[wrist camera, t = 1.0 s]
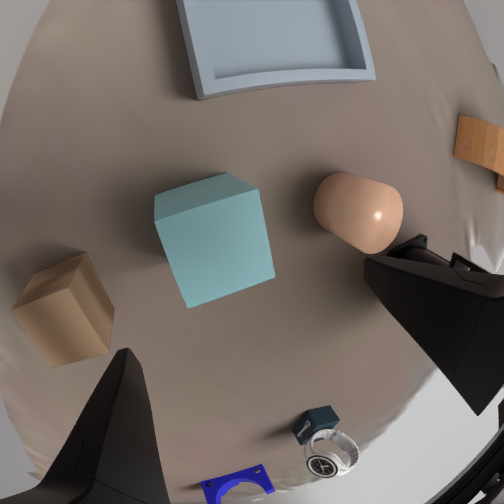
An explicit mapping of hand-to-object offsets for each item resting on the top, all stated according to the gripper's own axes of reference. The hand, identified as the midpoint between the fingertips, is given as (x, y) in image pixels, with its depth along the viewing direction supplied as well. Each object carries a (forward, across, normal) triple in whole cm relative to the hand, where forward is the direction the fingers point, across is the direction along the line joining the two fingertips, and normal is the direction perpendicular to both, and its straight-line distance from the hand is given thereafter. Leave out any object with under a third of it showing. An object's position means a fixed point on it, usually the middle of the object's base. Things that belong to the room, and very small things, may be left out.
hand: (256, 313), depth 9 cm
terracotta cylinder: (+11, -11, +2) cm, 16 cm away
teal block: (+11, 0, 0) cm, 11 cm away
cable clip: (+11, +10, +47) cm, 50 cm away
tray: (+11, -8, -14) cm, 20 cm away
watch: (+11, -6, +34) cm, 36 cm away
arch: (+12, -40, +2) cm, 41 cm away
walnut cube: (+11, +11, +2) cm, 16 cm away
